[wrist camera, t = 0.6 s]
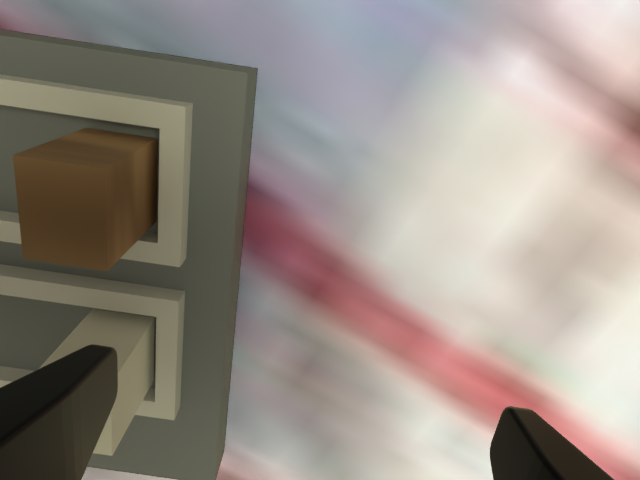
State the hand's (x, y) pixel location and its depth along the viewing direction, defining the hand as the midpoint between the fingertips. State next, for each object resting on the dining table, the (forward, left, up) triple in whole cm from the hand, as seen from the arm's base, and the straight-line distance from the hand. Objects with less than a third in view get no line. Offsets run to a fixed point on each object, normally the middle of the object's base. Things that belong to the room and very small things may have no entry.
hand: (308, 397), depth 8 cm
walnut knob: (0, +7, -10) cm, 12 cm away
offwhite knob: (-7, +7, -10) cm, 14 cm away
